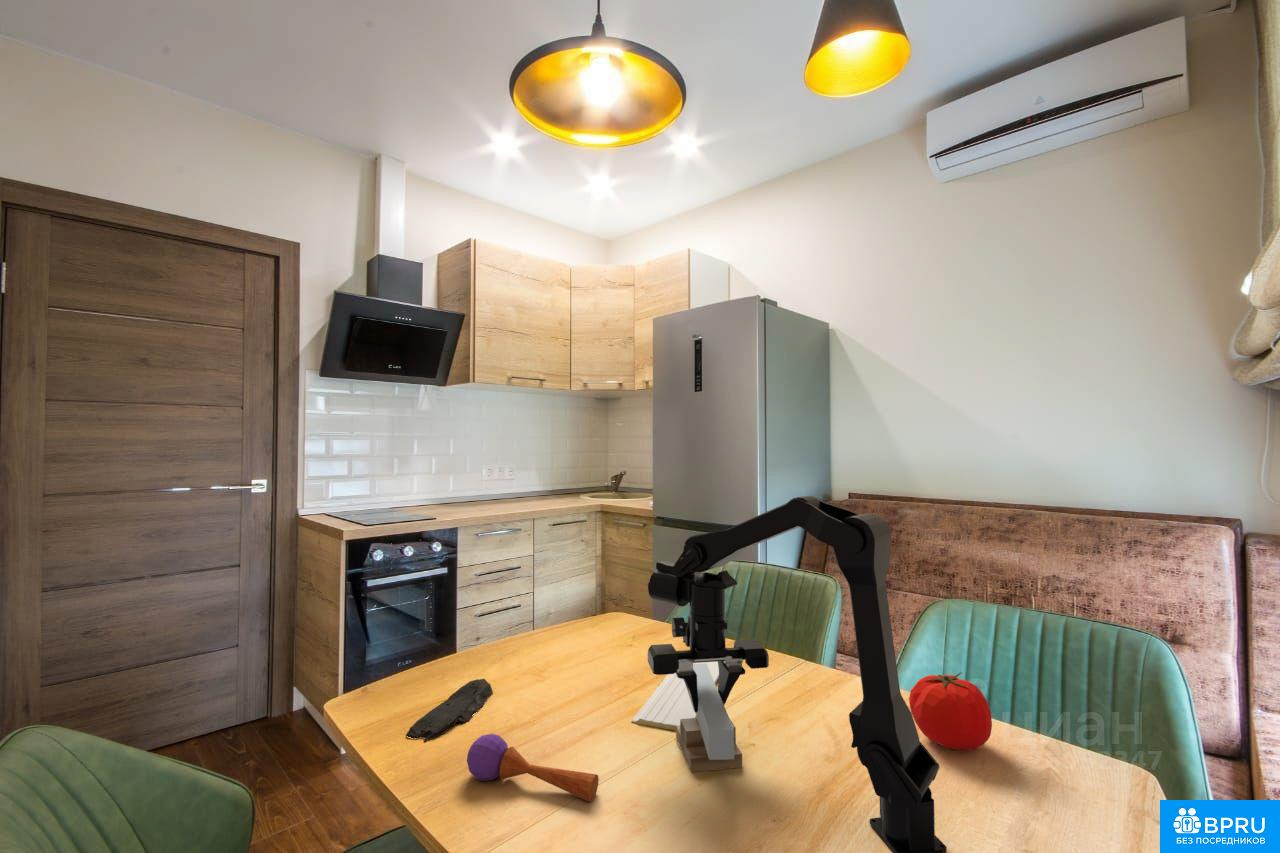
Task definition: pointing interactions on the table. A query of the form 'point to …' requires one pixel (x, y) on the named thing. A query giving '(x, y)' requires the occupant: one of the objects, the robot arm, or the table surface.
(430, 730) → the wood
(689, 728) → the ridge block
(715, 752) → the slate stick
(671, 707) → the baseboard molding
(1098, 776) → the table surface
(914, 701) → the tomato
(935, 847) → the robot arm
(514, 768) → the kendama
